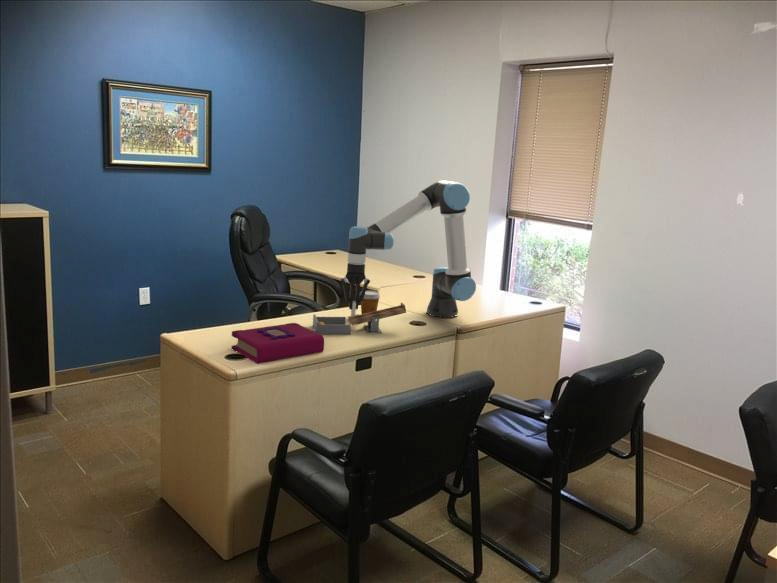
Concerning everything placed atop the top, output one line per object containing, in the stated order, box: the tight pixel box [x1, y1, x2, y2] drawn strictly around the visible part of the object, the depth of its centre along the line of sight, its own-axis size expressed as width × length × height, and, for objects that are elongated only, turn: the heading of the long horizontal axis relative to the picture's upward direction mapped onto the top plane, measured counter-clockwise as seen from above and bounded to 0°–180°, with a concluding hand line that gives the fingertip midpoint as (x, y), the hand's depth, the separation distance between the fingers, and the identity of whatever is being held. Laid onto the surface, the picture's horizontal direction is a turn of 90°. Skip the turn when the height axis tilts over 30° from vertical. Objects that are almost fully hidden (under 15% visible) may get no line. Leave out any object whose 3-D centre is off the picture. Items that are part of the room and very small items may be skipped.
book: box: [231, 322, 325, 364], centre depth 242 cm, size 21×28×8 cm
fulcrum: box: [363, 312, 383, 334], centre depth 278 cm, size 6×11×7 cm, turn 13°
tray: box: [312, 314, 352, 335], centre depth 274 cm, size 14×14×5 cm
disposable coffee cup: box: [359, 290, 381, 315], centre depth 297 cm, size 10×10×12 cm
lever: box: [347, 302, 407, 326], centre depth 280 cm, size 24×11×3 cm, turn 102°
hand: (353, 316), depth 281 cm, fingers closed
